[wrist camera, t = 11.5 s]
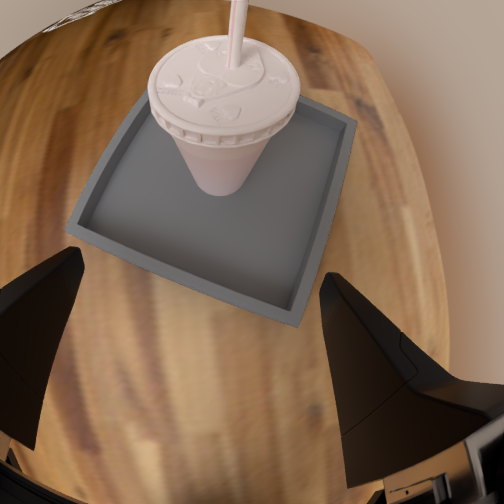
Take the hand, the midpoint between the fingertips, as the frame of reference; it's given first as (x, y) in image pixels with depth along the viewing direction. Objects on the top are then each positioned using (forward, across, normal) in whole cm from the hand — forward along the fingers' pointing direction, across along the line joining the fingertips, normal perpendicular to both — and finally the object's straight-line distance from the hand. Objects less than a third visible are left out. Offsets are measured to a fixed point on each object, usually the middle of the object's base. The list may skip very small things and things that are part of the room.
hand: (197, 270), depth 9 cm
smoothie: (+12, 0, +1) cm, 12 cm away
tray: (+12, 0, +1) cm, 12 cm away
